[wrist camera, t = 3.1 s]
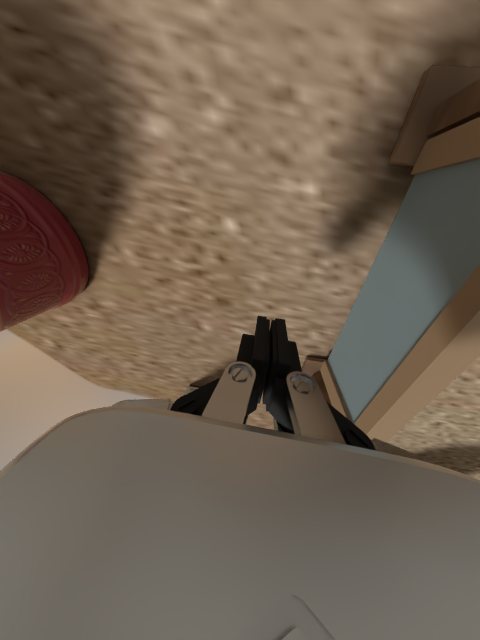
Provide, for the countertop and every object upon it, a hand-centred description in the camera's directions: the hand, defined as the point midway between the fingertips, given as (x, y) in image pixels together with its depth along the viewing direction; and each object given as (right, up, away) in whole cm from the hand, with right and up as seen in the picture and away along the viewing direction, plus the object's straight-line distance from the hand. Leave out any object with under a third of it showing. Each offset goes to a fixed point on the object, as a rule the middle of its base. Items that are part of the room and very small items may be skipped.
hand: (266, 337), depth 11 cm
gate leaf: (+10, +3, +5) cm, 11 cm away
